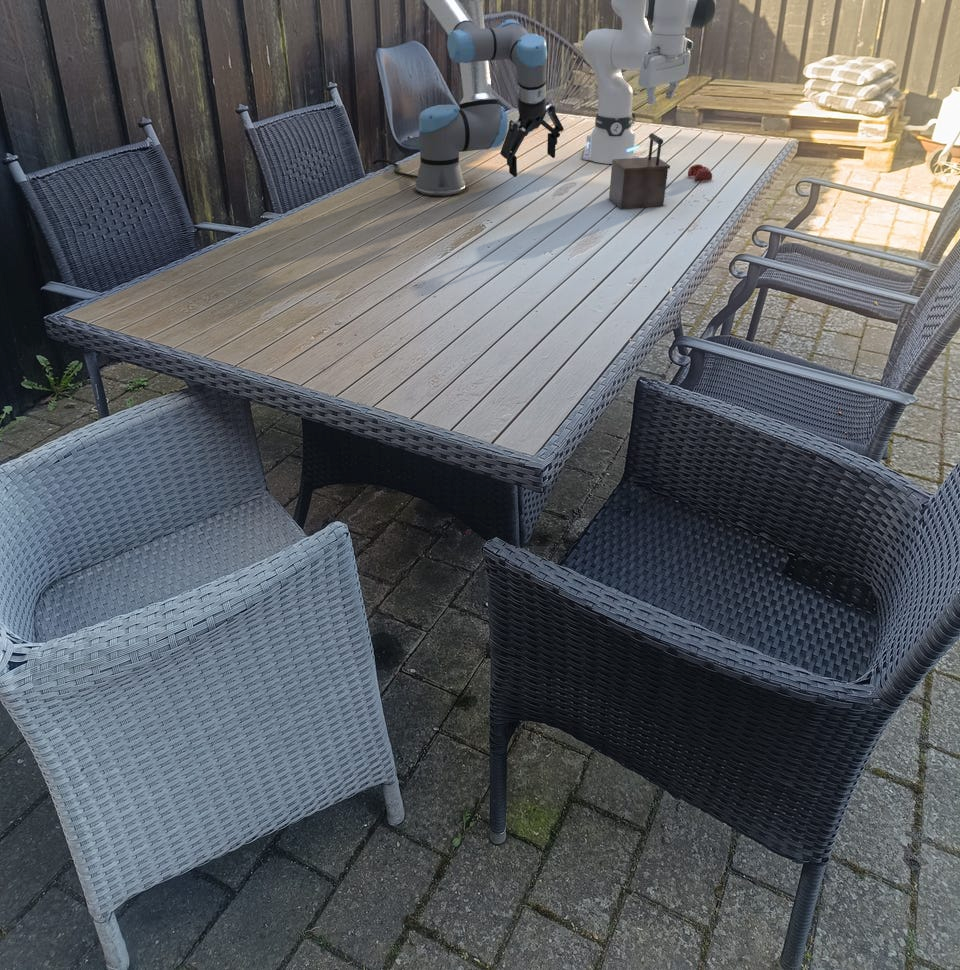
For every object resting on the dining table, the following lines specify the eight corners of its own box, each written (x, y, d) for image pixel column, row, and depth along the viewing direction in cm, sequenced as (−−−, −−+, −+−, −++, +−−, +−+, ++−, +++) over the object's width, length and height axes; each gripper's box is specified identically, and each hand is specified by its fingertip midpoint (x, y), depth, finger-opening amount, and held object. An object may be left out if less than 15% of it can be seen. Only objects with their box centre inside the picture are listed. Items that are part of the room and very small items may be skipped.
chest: (650, 195, 254) (654, 159, 247) (663, 206, 246) (668, 169, 239) (608, 198, 251) (612, 162, 245) (620, 209, 243) (624, 171, 237)
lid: (656, 159, 248) (659, 131, 243) (669, 168, 240) (673, 139, 235) (612, 162, 245) (614, 133, 241) (624, 171, 237) (627, 142, 233)
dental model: (703, 160, 269) (714, 167, 263) (701, 174, 271) (713, 181, 265) (687, 162, 268) (698, 169, 262) (685, 176, 270) (696, 183, 264)
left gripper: (501, 122, 219) (504, 189, 237) (577, 85, 225) (574, 153, 243) (485, 108, 222) (489, 175, 240) (560, 72, 229) (559, 141, 247)
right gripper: (656, 51, 217) (649, 108, 225) (696, 42, 229) (689, 96, 237) (635, 48, 220) (630, 105, 228) (676, 39, 233) (670, 93, 241)
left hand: (532, 165), depth 242 cm, fingers open, 13 cm apart
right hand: (660, 100), depth 233 cm, fingers open, 8 cm apart
